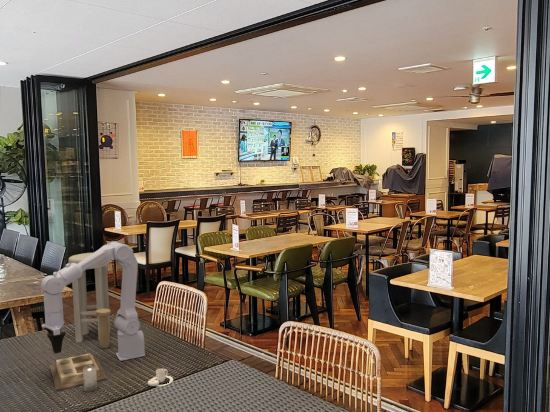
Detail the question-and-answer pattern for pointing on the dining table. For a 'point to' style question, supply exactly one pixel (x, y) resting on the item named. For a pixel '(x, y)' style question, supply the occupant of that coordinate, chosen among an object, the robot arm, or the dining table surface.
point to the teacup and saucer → (160, 378)
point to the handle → (104, 327)
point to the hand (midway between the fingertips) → (56, 348)
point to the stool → (81, 296)
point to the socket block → (74, 371)
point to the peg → (90, 378)
